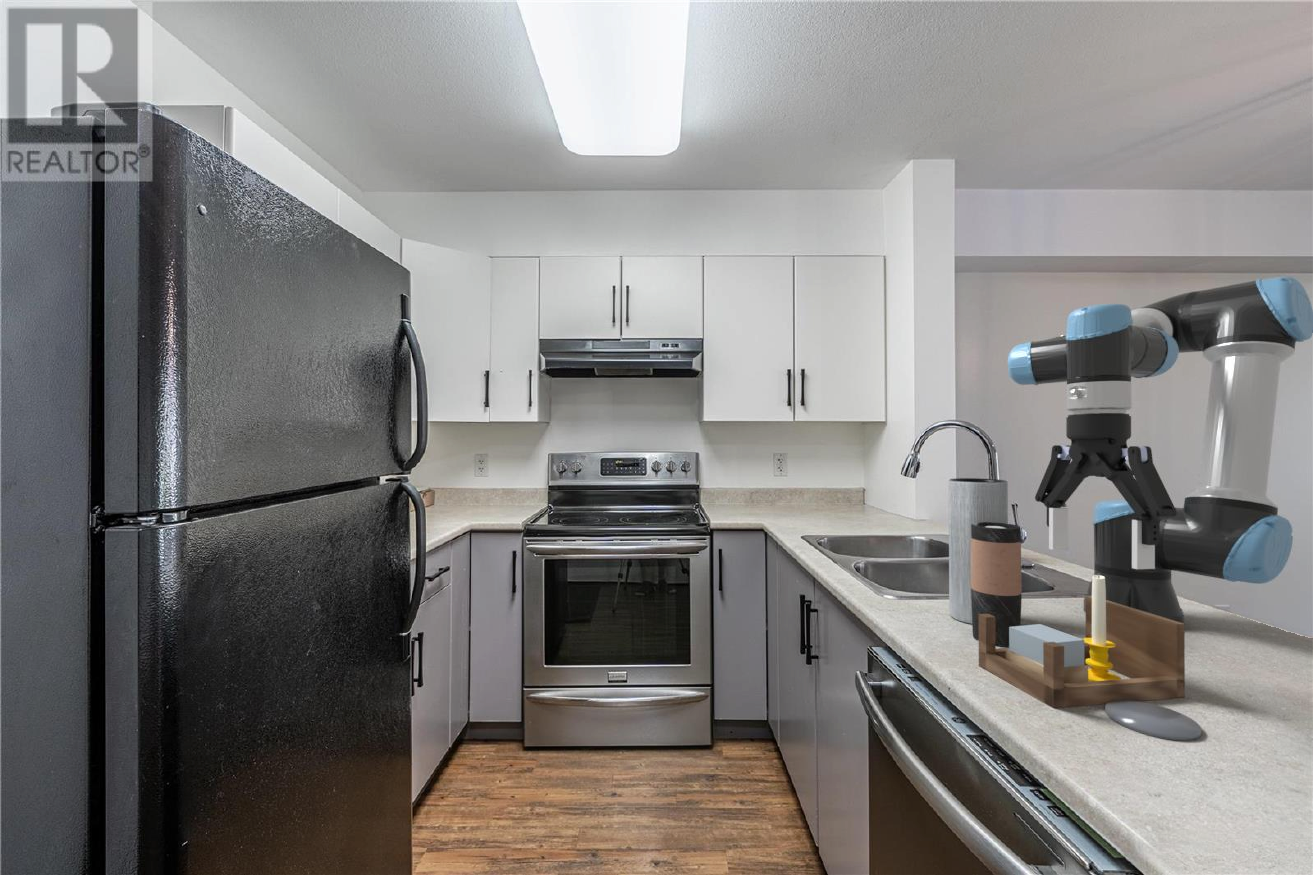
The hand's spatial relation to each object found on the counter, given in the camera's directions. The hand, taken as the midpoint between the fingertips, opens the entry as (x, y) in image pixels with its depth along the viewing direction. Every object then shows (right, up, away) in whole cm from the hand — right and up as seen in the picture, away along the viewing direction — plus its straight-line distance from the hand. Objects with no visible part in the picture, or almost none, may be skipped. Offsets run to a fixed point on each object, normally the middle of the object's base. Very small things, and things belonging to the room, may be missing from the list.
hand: (1097, 558), depth 84 cm
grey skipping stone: (-3, -18, -12) cm, 22 cm away
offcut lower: (-8, -18, -1) cm, 20 cm away
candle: (0, -18, 0) cm, 18 cm away
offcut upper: (-8, -14, -1) cm, 16 cm away
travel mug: (-5, -18, +17) cm, 25 cm away
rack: (-4, -18, 0) cm, 18 cm away
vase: (-2, -18, +28) cm, 33 cm away
